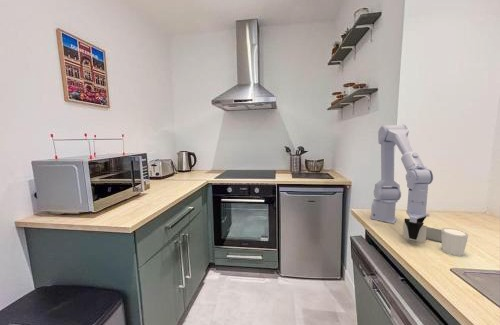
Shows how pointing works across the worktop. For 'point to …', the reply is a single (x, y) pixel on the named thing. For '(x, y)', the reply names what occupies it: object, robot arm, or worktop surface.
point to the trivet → (434, 235)
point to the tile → (421, 233)
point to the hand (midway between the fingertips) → (414, 235)
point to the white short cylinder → (453, 241)
